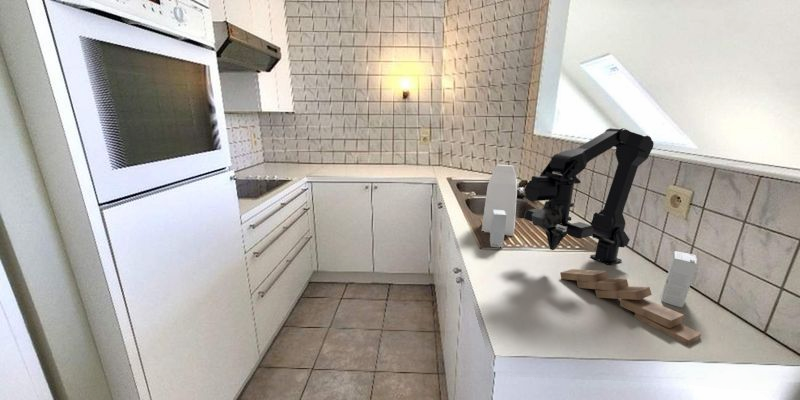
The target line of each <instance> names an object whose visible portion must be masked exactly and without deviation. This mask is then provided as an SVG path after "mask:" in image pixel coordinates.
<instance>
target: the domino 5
mask: <svg viewBox="0 0 800 400" xmlns="http://www.w3.org/2000/svg"><path fill="white" fill-rule="evenodd" d="M633 317H634V318H635V319H637V320H638V321H641V322H642V323H644V324H646V325H649V326H650V327H652V328H654V329H656V330H658V331H660V332H662V333H663V334H666V335H668V336H669V337H671V338H673V339H675V340H677V341H679V342H681V343H683V344H685V345H687V346H689V345H690V344H692V343H694V342H696V341H698V340H699V339H701V336H702V332H699V331H697V330H695V329H694V328H691V327H689V326H686V325H685V324H683V323H680V324H678V325H676V326H674V327H672V328H668V327H666V326H663V325H661V324H659V323H657V322H655V321H652V320H650V319H648V318H646V317H644V316H641V315H639V314H637V313H635V312H634V316H633Z"/></svg>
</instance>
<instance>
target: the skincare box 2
mask: <svg viewBox="0 0 800 400" xmlns="http://www.w3.org/2000/svg"><path fill="white" fill-rule="evenodd" d="M697 265H698V258H697V255H695V254H692V253H687V252H682V251H676V250H675V251H674V252H673V256H672V260H671V262H670V265H669V269H668V271H667V276H666V279H665V281H664V285H663V289H662V292H661V295H660V296H661V297H660V300H661V302H662V303H665V304H668V305H671V306H675V307H678V308H683V307H684V305H685V302H686V300H687V296H688V294H689V291H690V287H691V285H692V284H691V283H692V281H693V278H694V275H695V272H696V270H697V267H698V266H697Z"/></svg>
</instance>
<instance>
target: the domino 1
mask: <svg viewBox="0 0 800 400" xmlns="http://www.w3.org/2000/svg"><path fill="white" fill-rule="evenodd" d="M607 272H608V271H606V270H595V269H593V270H590V269H577V268H576V269H575V268H574V269H573V268H571V269H568V270H564V271H562V272H560V278H561V279H562V280H569V281H576V282H577V281H588V282H598V281H601V280H604V279H607V278H609V277H608V273H607Z"/></svg>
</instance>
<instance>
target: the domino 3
mask: <svg viewBox="0 0 800 400" xmlns="http://www.w3.org/2000/svg"><path fill="white" fill-rule="evenodd" d="M594 291H595V295H596V298H598V299H599V298H602V299H614V300H615V299H619V300H621V299H633V300H641V299H643V298H644V299H646V298H648V297H650V296H652V294H653V293H652V291H651V287H650V286H629V287H626V288H623V289H621V290H618V291H610V290H599V289H594Z"/></svg>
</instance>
